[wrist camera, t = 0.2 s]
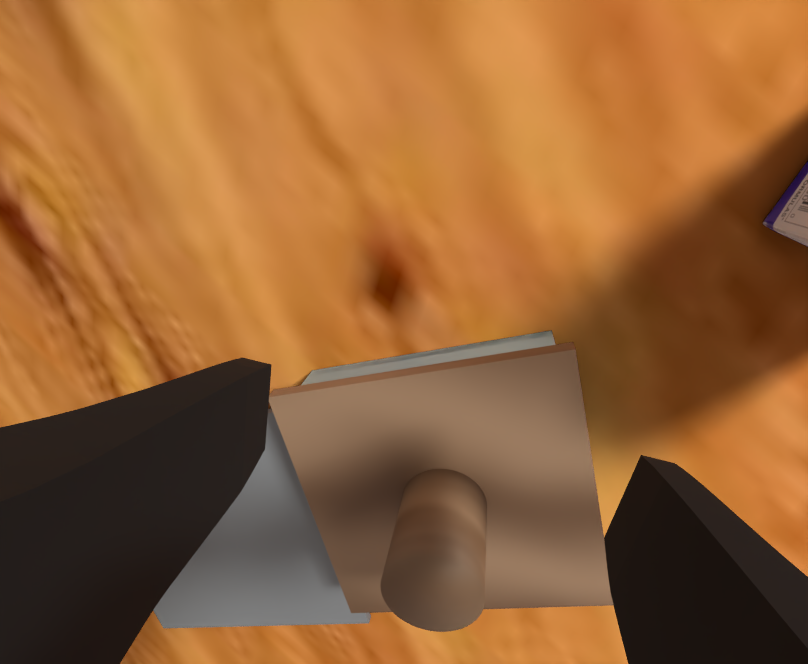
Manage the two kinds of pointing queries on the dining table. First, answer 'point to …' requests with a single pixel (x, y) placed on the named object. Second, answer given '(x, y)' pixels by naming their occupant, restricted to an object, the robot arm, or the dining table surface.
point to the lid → (453, 486)
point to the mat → (261, 559)
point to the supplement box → (792, 210)
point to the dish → (432, 357)
